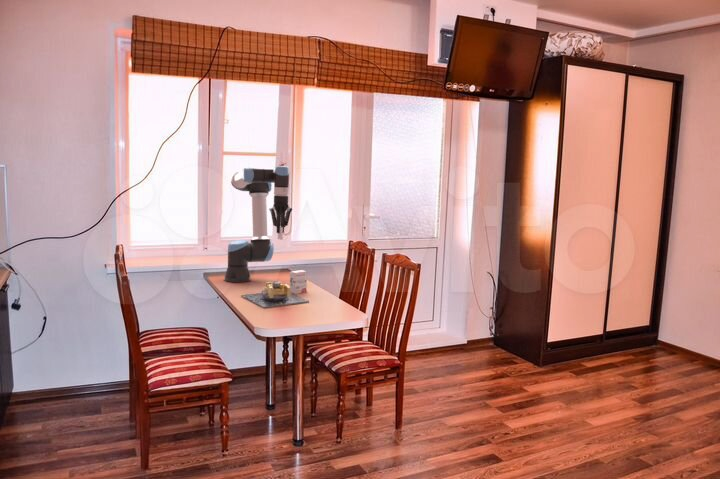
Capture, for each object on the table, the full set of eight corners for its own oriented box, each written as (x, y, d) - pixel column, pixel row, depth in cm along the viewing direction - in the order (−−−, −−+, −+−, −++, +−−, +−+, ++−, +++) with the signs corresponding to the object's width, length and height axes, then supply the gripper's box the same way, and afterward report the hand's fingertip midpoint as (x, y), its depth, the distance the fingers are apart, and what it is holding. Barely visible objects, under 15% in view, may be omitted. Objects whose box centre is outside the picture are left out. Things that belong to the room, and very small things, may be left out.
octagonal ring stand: (262, 289, 309) (262, 280, 309) (283, 288, 313) (283, 279, 312) (269, 298, 292) (269, 288, 291) (291, 297, 296) (291, 287, 295)
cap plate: (241, 296, 309) (241, 279, 308) (284, 291, 325) (285, 275, 323) (263, 308, 289) (264, 290, 287) (309, 302, 304) (309, 285, 303)
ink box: (301, 290, 330) (301, 269, 328) (306, 292, 326) (307, 271, 325) (288, 292, 324) (289, 271, 322) (294, 294, 320) (295, 272, 319)
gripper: (273, 195, 303) (272, 240, 307) (295, 195, 311) (294, 239, 314) (266, 194, 309) (265, 238, 313) (288, 194, 317) (287, 237, 320)
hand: (280, 239), depth 314 cm, fingers closed
